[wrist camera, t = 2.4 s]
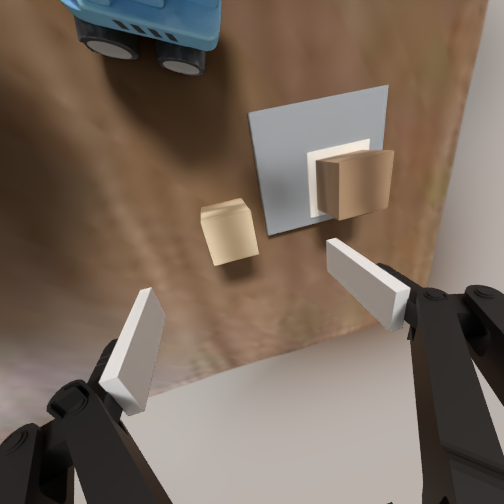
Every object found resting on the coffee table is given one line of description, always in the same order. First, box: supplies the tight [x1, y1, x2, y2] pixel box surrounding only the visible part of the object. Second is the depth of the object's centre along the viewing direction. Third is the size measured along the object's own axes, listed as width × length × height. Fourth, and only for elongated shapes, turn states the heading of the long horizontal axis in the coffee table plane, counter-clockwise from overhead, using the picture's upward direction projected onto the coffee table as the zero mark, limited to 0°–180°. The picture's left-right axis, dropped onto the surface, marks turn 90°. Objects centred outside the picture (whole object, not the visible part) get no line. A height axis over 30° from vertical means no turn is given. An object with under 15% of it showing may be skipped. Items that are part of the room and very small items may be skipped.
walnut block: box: [316, 150, 394, 220], centre depth 25 cm, size 6×6×5 cm
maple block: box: [201, 198, 259, 266], centre depth 25 cm, size 5×5×6 cm
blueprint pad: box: [247, 85, 388, 235], centre depth 26 cm, size 16×14×1 cm
